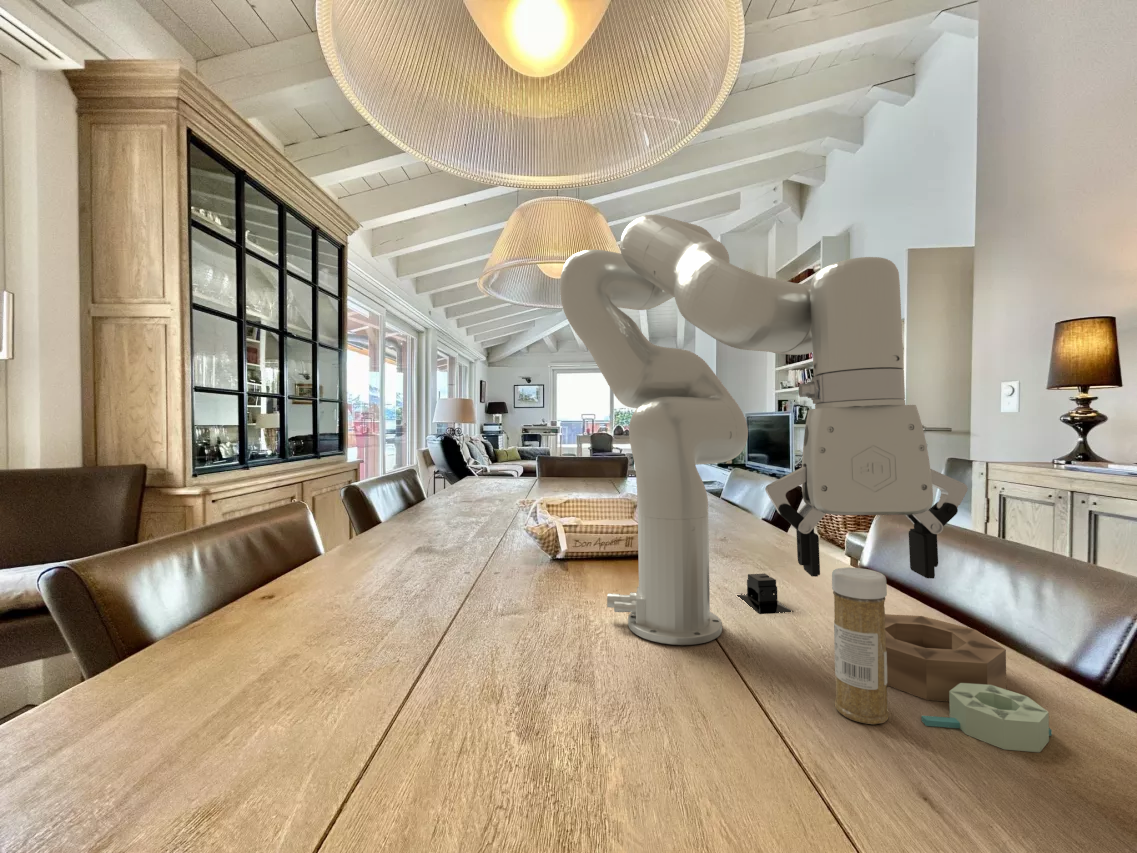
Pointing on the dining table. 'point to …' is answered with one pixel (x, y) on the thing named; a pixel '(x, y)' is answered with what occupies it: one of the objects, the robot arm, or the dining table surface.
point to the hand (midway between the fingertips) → (865, 573)
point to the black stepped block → (763, 595)
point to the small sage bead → (1000, 717)
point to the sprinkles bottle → (860, 644)
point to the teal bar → (946, 722)
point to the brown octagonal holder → (939, 657)
